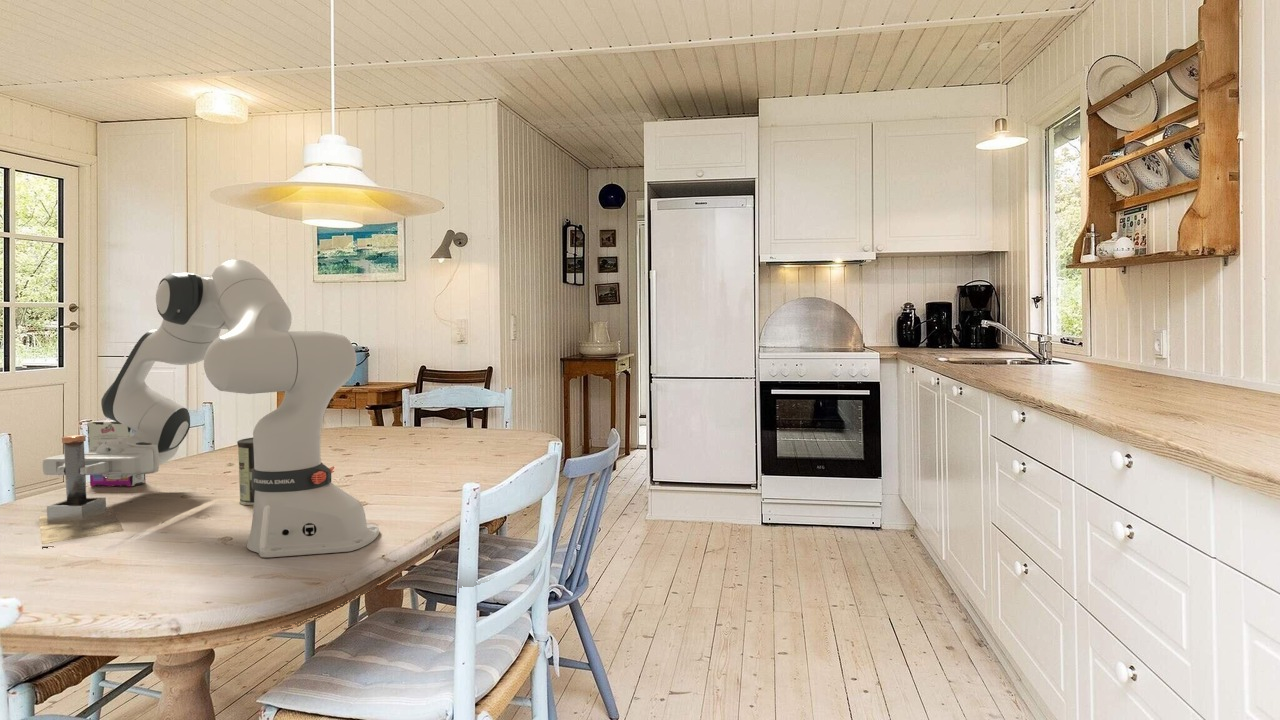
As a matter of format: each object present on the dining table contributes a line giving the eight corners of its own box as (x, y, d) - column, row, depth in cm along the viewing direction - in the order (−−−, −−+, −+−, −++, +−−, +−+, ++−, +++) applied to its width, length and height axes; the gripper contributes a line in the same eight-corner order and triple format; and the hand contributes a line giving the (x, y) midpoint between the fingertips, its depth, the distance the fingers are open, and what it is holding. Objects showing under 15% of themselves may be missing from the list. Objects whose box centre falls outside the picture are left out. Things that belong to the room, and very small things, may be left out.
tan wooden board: (124, 535, 136) (123, 530, 136) (42, 549, 128) (41, 543, 128) (111, 510, 154) (111, 506, 154) (39, 521, 146) (39, 516, 146)
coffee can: (299, 495, 167) (298, 436, 166) (268, 507, 157) (266, 443, 156) (261, 493, 169) (259, 435, 168) (228, 504, 159) (226, 442, 158)
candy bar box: (147, 482, 181) (144, 418, 181) (132, 487, 176) (129, 421, 176) (105, 482, 182) (102, 418, 181) (89, 486, 177) (85, 421, 176)
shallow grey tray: (106, 511, 150) (105, 497, 150) (82, 520, 143) (81, 505, 143) (73, 512, 149) (72, 497, 149) (47, 521, 143) (46, 506, 143)
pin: (93, 506, 148) (90, 435, 147) (79, 511, 144) (76, 438, 143) (74, 506, 148) (71, 435, 147) (60, 511, 144) (56, 438, 143)
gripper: (70, 444, 158) (18, 456, 144) (164, 443, 159) (122, 455, 145) (72, 472, 158) (20, 487, 145) (165, 471, 159) (123, 485, 145)
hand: (72, 471), depth 145 cm, fingers closed on pin, 3 cm apart
